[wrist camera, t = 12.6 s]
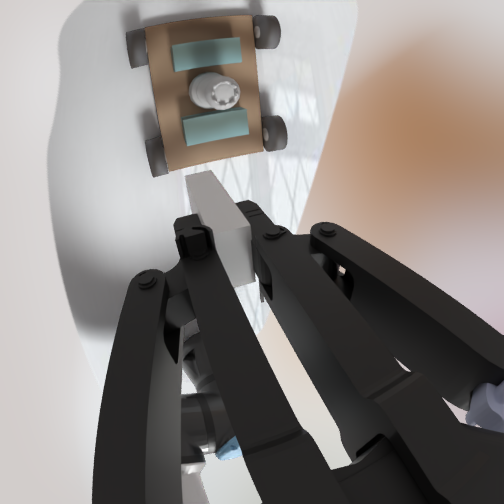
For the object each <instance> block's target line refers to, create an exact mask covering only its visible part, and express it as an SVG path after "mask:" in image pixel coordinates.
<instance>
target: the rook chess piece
mask: <svg viewBox="0 0 504 504" xmlns="http://www.w3.org/2000/svg"><path fill="white" fill-rule="evenodd" d="M189 96H190V99H191V101H192V102H193V103H194V104H195V105H196V106H198V107H201V108H204V109H213V108H215V109H217V110H225V109H228V108H231V107H232V106H234V105H235V104H236V103H237V101H238V99H239V98H240V88H239V85H238V84H237V82H236V81H235V80H234V79H232V78H230V77H226V76H222V75H220V74H218V73H215V72H205V73H202V74H199V75H198V76H197V77H195V78H194V79H193V80H192V82H191V84H190V86H189Z"/></svg>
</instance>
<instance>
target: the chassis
mask: <svg viewBox="0 0 504 504" xmlns="http://www.w3.org/2000/svg"><path fill="white" fill-rule="evenodd" d="M145 36H146V40H145ZM280 37H281V29H280V24H279V21H278V19H277V18H276V17H275V16H267V15H257V16H255V17H254V18H253V20H252V15H237V16H219V17H207V18H198V19H190V20H183V21H176V22H170V23H165V24H160V25H155V26H150V27H145V35H144V28H143V29H138V30H134V31H130V32H127V33H126V41H127V50H128V56H129V61H130V66H131V68H136V67H140V66H144V65H148V59H149V66H150V73H151V79H152V85H153V91H154V97H155V103H156V109H157V114H158V120H159V125H160V130H161V135H162V140H163V144H162V140H161V137H157V138H154V139H150V140H146V141H145V144H146V151H147V156H148V161H149V165H150V169H151V173H152V176H153V178H154V177H157V176H161V175H164V174H168V169H169V172H170V171H174V170H178V169H182V168H186V167H190V166H194V165H199V164H203V163H207V162H212V161H216V160H221V159H226V158H231V157H236V156H241V155H246V154H251V153H257V152H263V146H264V148H265V149H266V151H268V152H270V151H276V150H283V149H285V147H286V145H287V129H286V126H285V123H284V121H283V119H282V118H281V117H280V116H278V115H277V116H268V117H262V118H261V111H260V99H259V87H258V75H257V64H256V53H255V48H257V49H275V48H276V47H277V46H278V44H279V42H280ZM147 53H148V58H147ZM205 72H215V73H218V74H220V75H222V76H226V77H230V78H232V79H234V80H235V81H236V82H237V84H238V85H239V88H240V98H239V99H238V101H237V103H236V104H235V105H234V106H232V107H231V108H228V109H225V110H217V109H215V108H213V109H204V108H201V107H198V106H196V105H195V104H194V103H193V102H192V101H191V99H190V96H189V86H190V84H191V82H192V80H193V79H194V78H195V77H197V76H198V75H199V74H202V73H205ZM163 145H164V148H163ZM166 162H167V163H166ZM167 164H168V168H167Z"/></svg>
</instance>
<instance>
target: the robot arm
mask: <svg viewBox="0 0 504 504" xmlns="http://www.w3.org/2000/svg"><path fill="white" fill-rule="evenodd" d="M185 180H186V185H187V190H188V195H189V200H190V205H191V210H192V215H188V216H184V217H180V218H177V219H176V221H175V223H174V230H175V235H176V239H175V241H176V244H177V248H178V252H179V255H180V260H179V262H178V264H177V265H176V266H175V267H174V268H173V269H171V270H170V271H168V272H166V273H163V272H162V271H159V270H157V269H149V270H145V271H142V272H141V273H139V274H137V275H136V276H135V277H134V278H133V279H132V280H131V282H130V284H129V287H128V291H127V294H126V298H125V301H124V305H123V308H122V312H121V315H120V319H119V323H118V327H117V331H116V335H115V339H114V343H113V347H112V351H111V356H110V360H109V365H108V370H107V374H106V380H105V385H104V390H103V396H102V402H101V408H100V415H99V422H98V429H97V437H96V447H95V456H94V469H93V487H92V504H209V501H208V498H207V495H206V493H205V490H204V486H203V483H202V480H201V477H200V473H201V471H202V469H203V468H204V467H205V465H206V461H205V458H204V455H205V454H210V453H216V454H215V455H216V457H218V459H220V460H227V459H233V458H236V457H239V456H242V455H243V458H244V461H245V463H246V466H247V468H248V471H249V473H250V475H251V478H252V480H253V482H254V485H255V487H256V489H257V491H258V493H259V496H260V498H261V500H262V504H504V335H502V334H500V333H499V332H498V331H497V330H495V329H494V328H492V326H490V325H489V324H488V323H486V322H485V321H484V320H482V319H481V318H480V317H478V316H477V315H476V314H474V313H473V312H472V311H470V310H469V309H468V308H466V307H465V306H464V305H462V304H461V303H459V302H458V301H457V300H455V299H454V298H452V297H451V296H450V295H448V294H446V293H445V292H444V291H442V290H441V289H439V288H438V287H436V286H435V285H434V284H432V283H431V282H429V281H428V280H426V279H425V278H423V277H422V276H420V275H419V274H417V273H416V272H414V271H413V270H411V269H409V268H408V267H406V266H405V265H403V264H402V263H400V262H399V261H397V260H395V259H394V258H392V257H391V256H389V255H388V254H386V253H384V252H383V251H381V250H380V249H378V248H376V247H375V246H373V245H371V244H370V243H368V242H366V241H364V240H363V239H361V238H360V237H358V236H356V235H355V234H353V233H351V232H349V231H348V230H346V229H344V228H343V227H341V226H339V225H337V224H334V223H330V222H320V223H317V224H315V225H313V226H312V228H311V230H310V234H303V235H293V234H292V233H291V232H290V231H289V230H288V229H287V228H285V227H283V226H279V225H274V223H273V222H272V221H271V220H270V219H269V218H268V216H267V215H266V214H264V212H263V211H262V209H261V208H260V207H259V206H258V205H257V204H256V203H254V202H252V201H250V200H246V201H242V202H238V203H234V201H233V200H232V198H231V197H230V196H229V194H228V193H227V191H226V190H225V189H224V187H223V186H222V184H221V183H220V182H219V180H218V179H217V177H216V176H215V175H214V173H213V172H212V171H211V170H209V171H204V172H200V173H195V174H191V175H187V176H185ZM340 266H341V267H343V268H344V269H346V271H345V274H343V273H341V272H340V271H339V267H340ZM255 273H256V275H257V276H258V278H259V287H260V299H261V303H262V302H264V297H265V299H266V301H267V303H268V304H269V306H270V308H271V310H272V312H273V313H274V315H275V317H276V319H277V320H278V322H279V324H280V326H281V328H282V329H283V331H284V333H285V334H286V337H287V338H288V340H289V342H290V344H291V345H292V347H293V349H294V351H295V352H296V354H297V356H298V358H299V360H300V361H301V363H302V365H303V367H304V368H305V370H306V372H307V374H308V375H309V377H310V379H311V381H312V383H313V384H314V386H315V388H316V390H317V391H318V393H319V394H320V396H321V398H322V400H323V402H324V403H325V405H326V407H327V409H328V410H329V412H330V414H331V416H332V417H333V419H334V421H335V423H336V424H337V426H338V428H339V431H340V436H341V441H342V444H343V446H344V448H345V450H346V452H347V454H348V456H349V457H350V459H351V461H352V463H351V464H350V465H349V466H345V467H341V468H337V469H333V470H331V469H330V468H329V466H328V464H327V462H326V460H325V459H324V457H323V455H322V453H321V451H320V450H319V447H318V446H317V444H316V442H315V441H314V439H313V438H312V436H311V435H310V434H309V433H308V432H307V431H306V430H304V429H303V428H302V426H301V425H300V423H299V422H298V420H297V418H296V416H295V414H294V412H293V410H292V408H291V406H290V404H289V402H288V400H287V398H286V396H285V394H284V392H283V390H282V388H281V386H280V384H279V382H278V380H277V378H276V376H275V374H274V372H273V370H272V368H271V366H270V364H269V363H268V360H267V358H266V356H265V354H264V352H263V350H262V348H261V346H260V344H259V341H258V340H257V337H256V335H255V333H254V331H253V329H252V327H251V325H250V323H249V320H248V318H247V316H246V314H245V312H244V310H243V308H242V305H241V303H240V301H239V299H238V297H237V295H236V292H235V290H234V288H235V287H239V286H242V285H246V284H249V283H252V282H256V280H255ZM195 318H196V319H197V323H198V326H199V330H200V333H198V334H196V335H194V336H192V337H191V338H189V339H188V340H187V341H186V342H185V343H184V344H183V340H184V325H185V324H187V323H188V322H190V321H192V320H193V319H195ZM394 357H395V358H396V359H397V360H398V361H400V362H401V363H402V364H403V365H404V366H406V367H407V368H408V369H409V370H410V371H411V372H408V371H406V370H404V369H403V368H402V367H401V366H400V365H399V363H398V362H397V360H396V359H395V358H394ZM182 368H183V370H184V371H185V373H186V374H187V376H188V377H189V378H190V380H191V381H192V383H193V384H194V386H195V387H196V390H197V393H192V394H181V383H182ZM442 397H443V398H444V399H445V400H447V401H448V402H450V403H452V404H453V405H455V406H457V407H458V408H461V409H463V410H465V411H468V412H467V414H466V422H467V424H464V423H460V422H459V421H458V419H457V418H456V416H455V415H454V413H453V412H452V411H451V409H450V408H449V407H448V405H447V404H446V403H445V401H444V400H443V398H442ZM476 424H477V425H479V426H480V427H481V428H480V427H475V425H476Z"/></svg>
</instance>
